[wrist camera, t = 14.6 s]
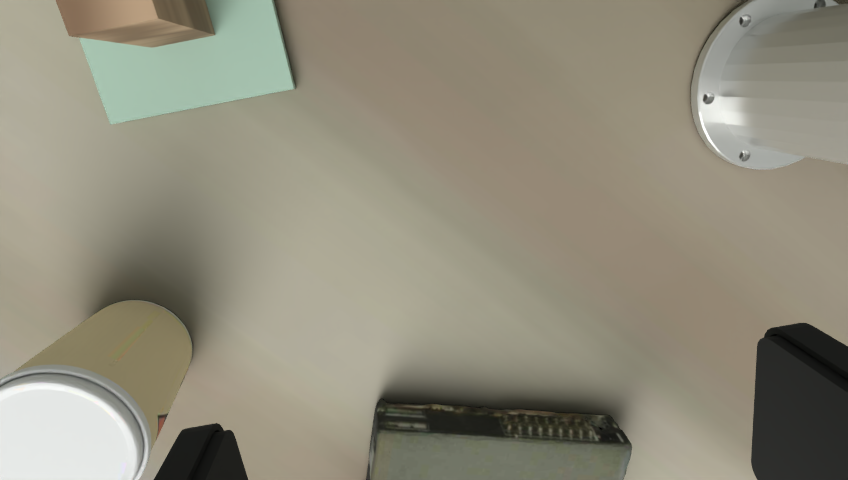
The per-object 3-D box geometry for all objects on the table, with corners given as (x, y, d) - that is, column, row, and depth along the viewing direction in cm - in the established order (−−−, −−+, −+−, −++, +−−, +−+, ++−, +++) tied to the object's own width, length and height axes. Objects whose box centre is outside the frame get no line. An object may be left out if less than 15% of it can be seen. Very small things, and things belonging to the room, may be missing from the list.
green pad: (245, -114, 32) (241, -119, 31) (295, 88, 36) (293, 88, 35) (45, -79, 32) (35, -84, 31) (117, 123, 35) (110, 124, 35)
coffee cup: (125, 419, 42) (36, 548, 30) (44, 326, 39) (-87, 429, 28) (228, 365, 41) (178, 474, 30) (155, 266, 39) (68, 345, 27)
